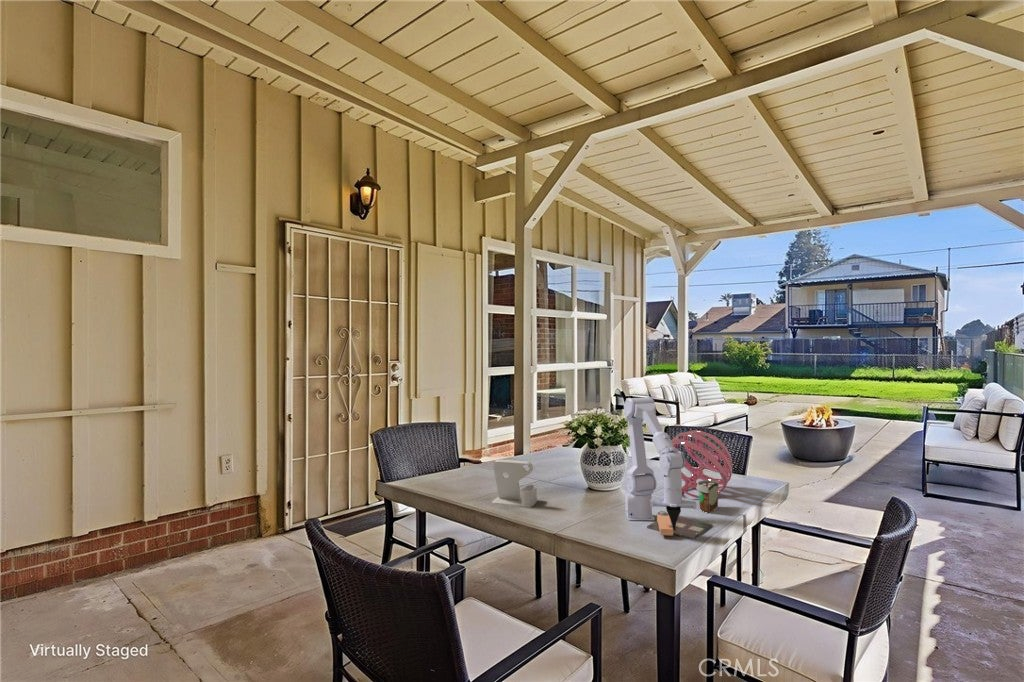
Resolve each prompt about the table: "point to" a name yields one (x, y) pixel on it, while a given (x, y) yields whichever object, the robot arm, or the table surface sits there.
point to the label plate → (685, 527)
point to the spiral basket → (704, 460)
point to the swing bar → (664, 523)
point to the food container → (708, 495)
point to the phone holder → (513, 484)
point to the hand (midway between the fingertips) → (673, 529)
